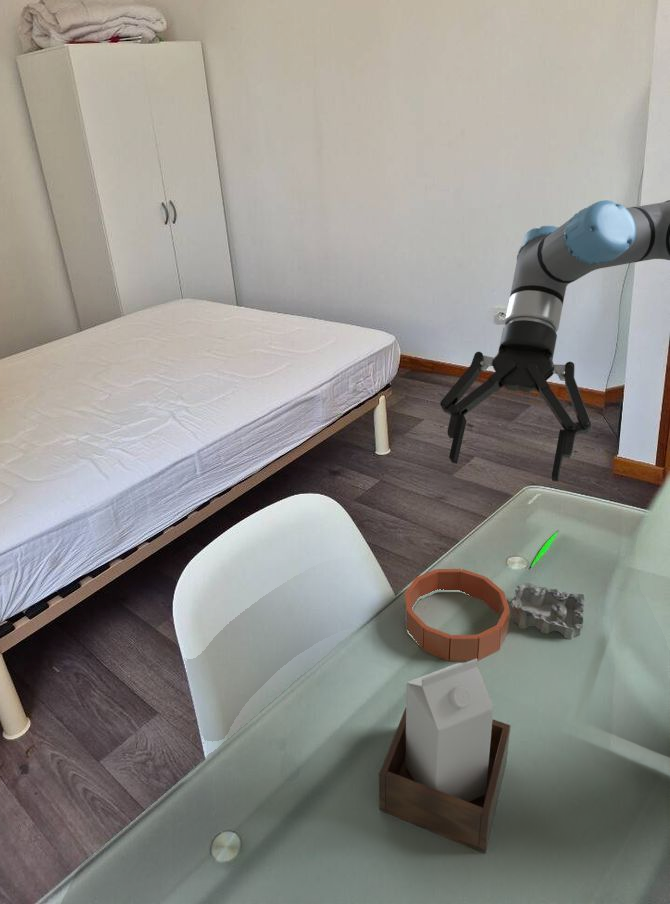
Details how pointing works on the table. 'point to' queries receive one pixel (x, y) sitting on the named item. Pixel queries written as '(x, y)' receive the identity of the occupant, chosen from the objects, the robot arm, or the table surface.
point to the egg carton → (548, 609)
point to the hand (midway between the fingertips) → (502, 469)
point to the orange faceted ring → (457, 644)
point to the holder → (439, 808)
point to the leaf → (544, 549)
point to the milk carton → (449, 730)
